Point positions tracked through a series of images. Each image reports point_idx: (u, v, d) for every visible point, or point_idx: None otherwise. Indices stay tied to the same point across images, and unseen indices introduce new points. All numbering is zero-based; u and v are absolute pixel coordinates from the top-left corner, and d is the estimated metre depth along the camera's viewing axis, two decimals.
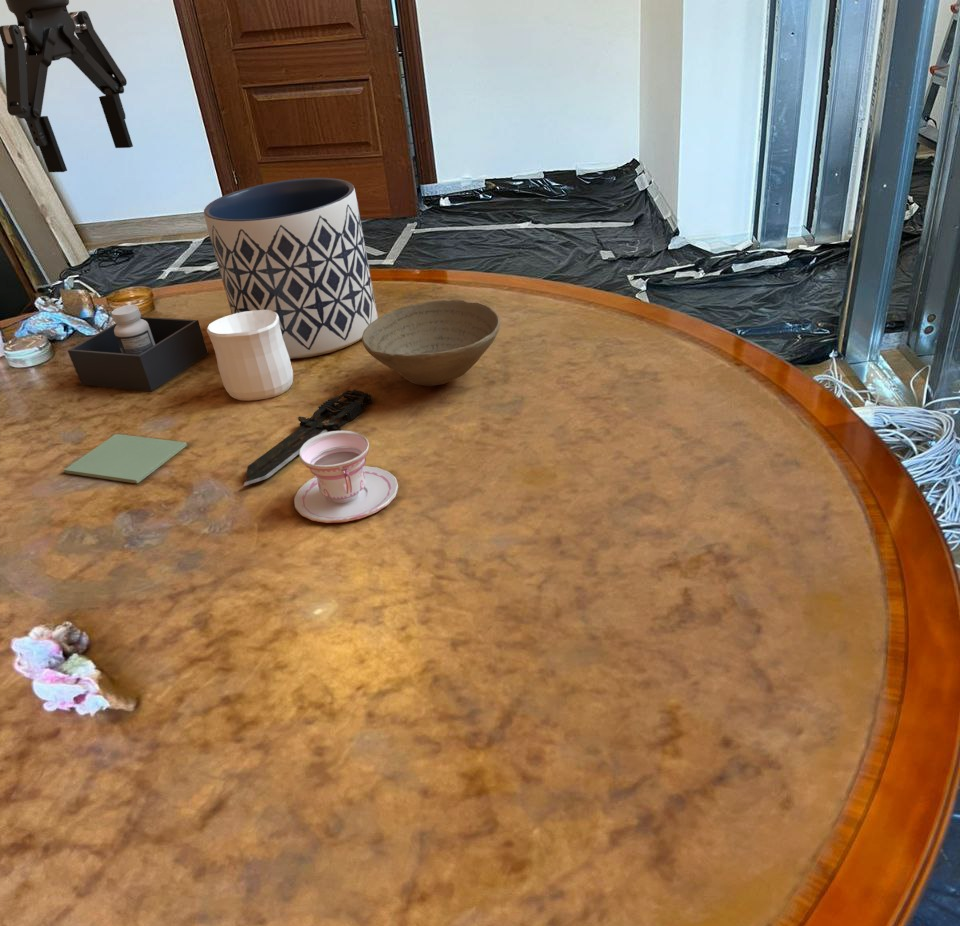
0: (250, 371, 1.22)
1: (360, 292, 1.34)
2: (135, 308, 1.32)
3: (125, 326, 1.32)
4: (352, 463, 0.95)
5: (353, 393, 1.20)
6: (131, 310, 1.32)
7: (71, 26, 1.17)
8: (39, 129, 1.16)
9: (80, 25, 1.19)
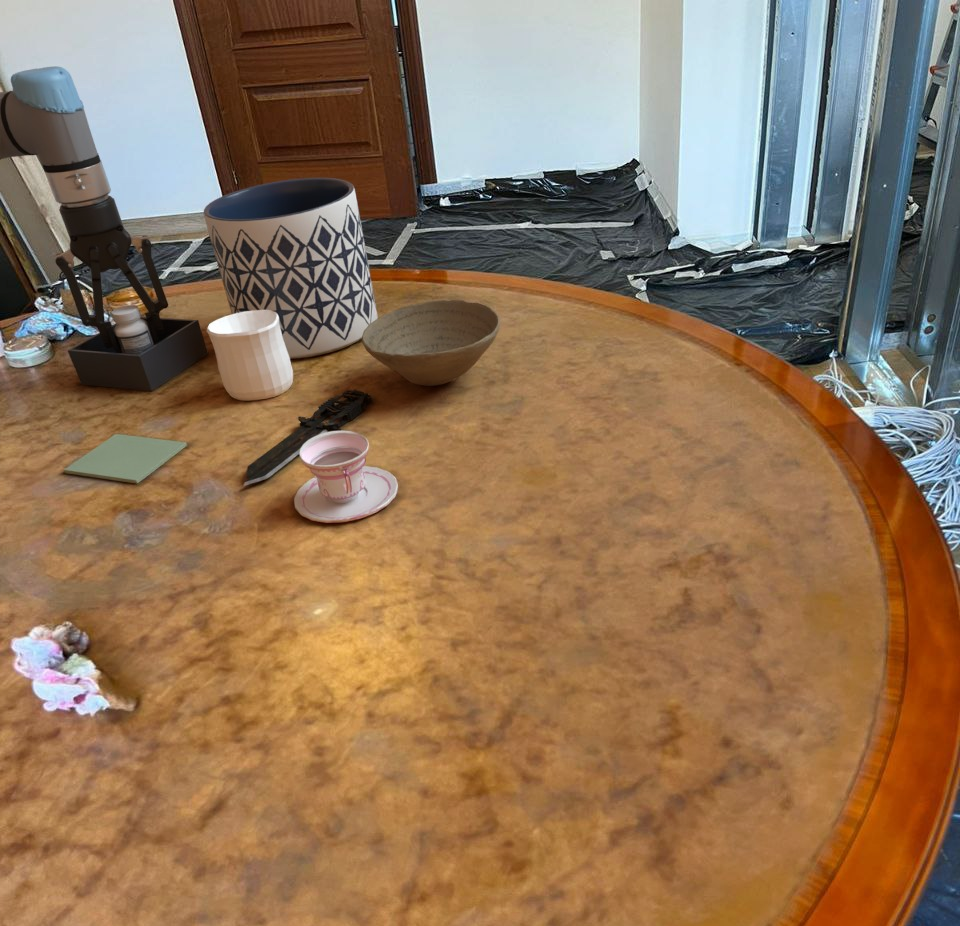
0: (250, 371, 1.22)
1: (360, 292, 1.34)
2: (135, 308, 1.32)
3: (125, 326, 1.32)
4: (352, 463, 0.95)
5: (353, 393, 1.20)
6: (131, 310, 1.32)
7: (124, 243, 1.27)
8: (103, 335, 1.33)
9: (139, 247, 1.28)
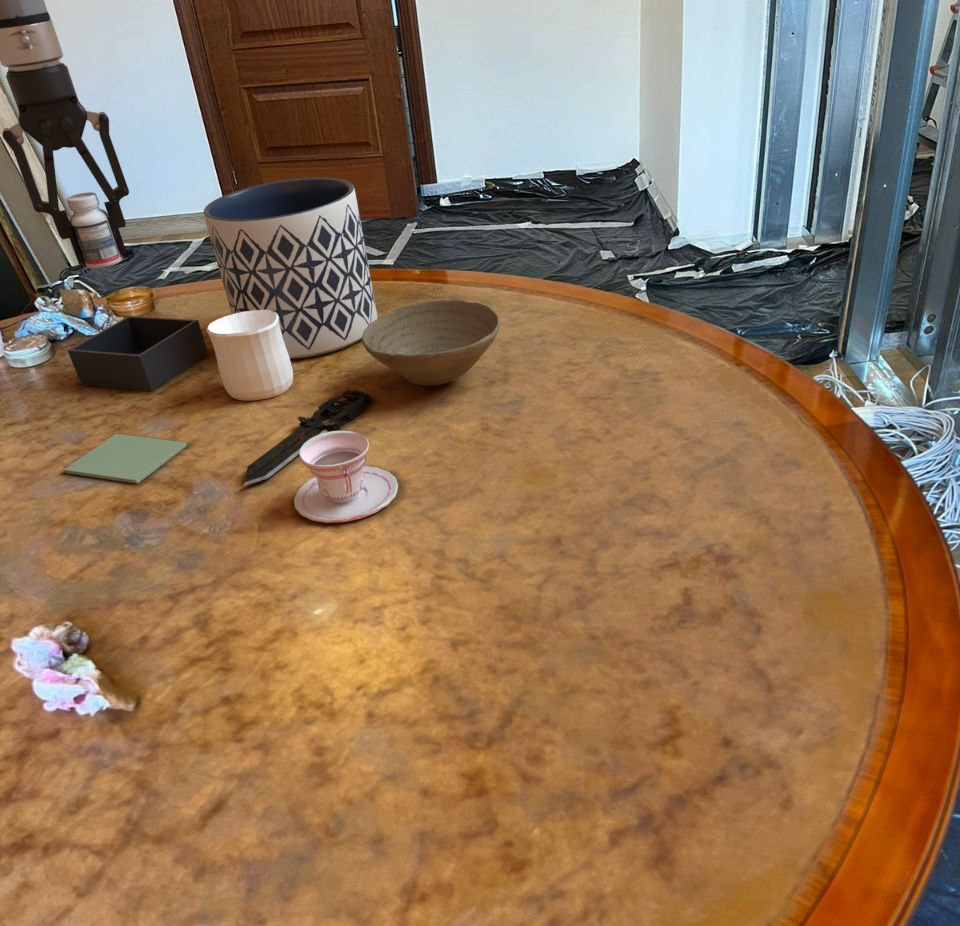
0: (250, 371, 1.22)
1: (360, 292, 1.34)
2: (93, 194, 1.21)
3: (81, 214, 1.21)
4: (352, 463, 0.95)
5: (353, 393, 1.20)
6: (88, 196, 1.21)
7: (79, 117, 1.15)
8: (58, 224, 1.21)
9: (95, 124, 1.17)
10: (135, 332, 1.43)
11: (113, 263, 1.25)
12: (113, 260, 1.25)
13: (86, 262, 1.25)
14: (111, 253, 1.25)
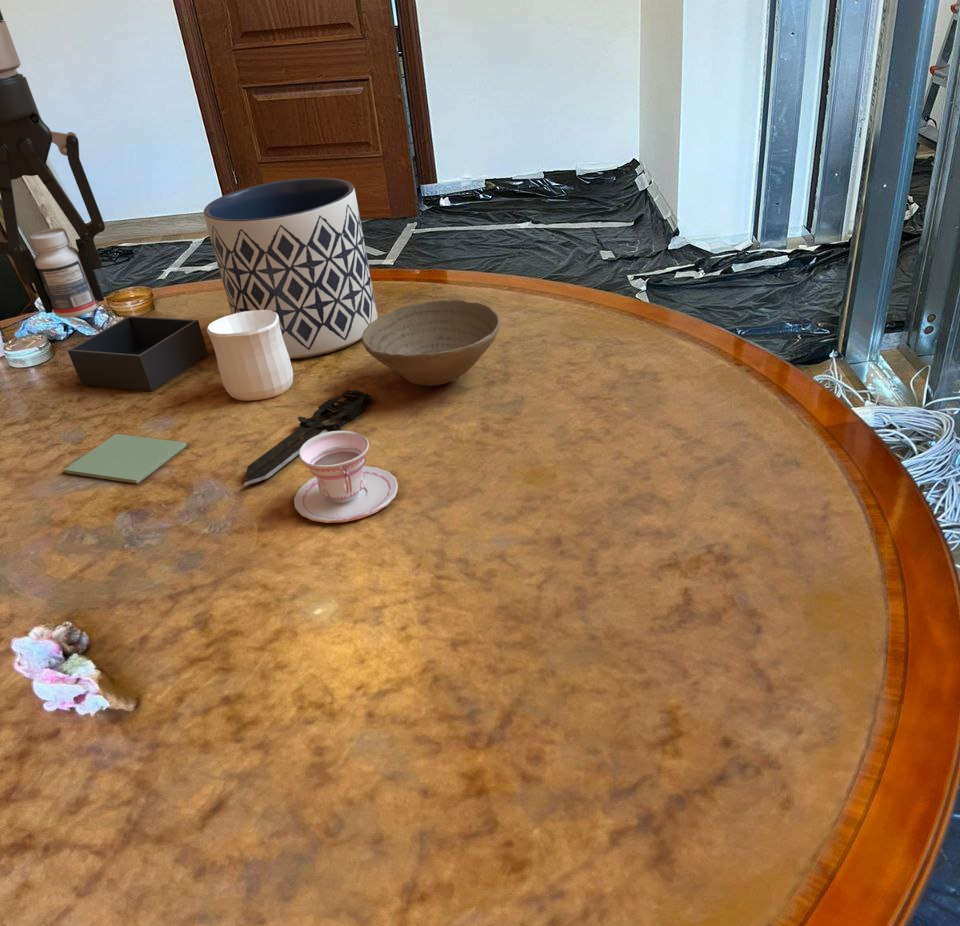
0: (250, 371, 1.22)
1: (360, 292, 1.34)
2: (61, 231, 1.01)
3: (47, 255, 1.01)
4: (352, 463, 0.95)
5: (353, 393, 1.20)
6: (55, 233, 1.00)
7: (42, 140, 0.95)
8: (20, 267, 1.01)
9: (62, 147, 0.96)
10: (135, 332, 1.43)
11: (87, 311, 1.05)
12: (87, 308, 1.05)
13: (55, 310, 1.05)
14: (85, 300, 1.04)
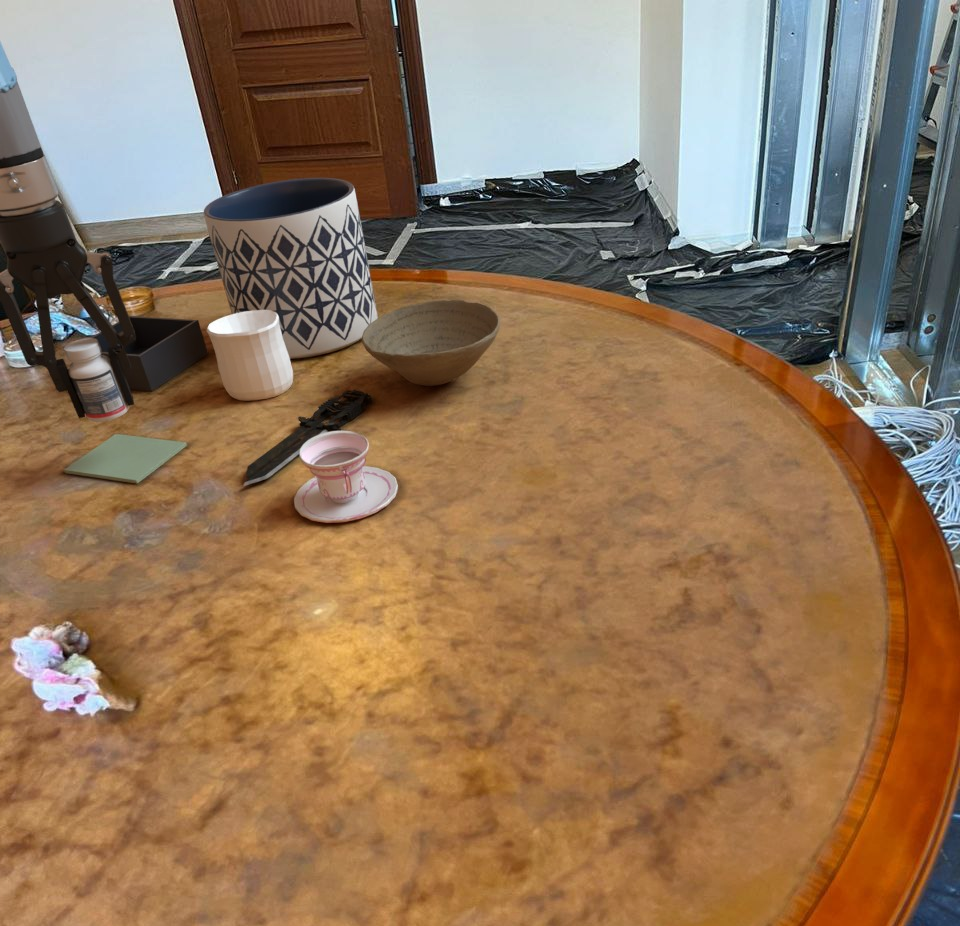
0: (250, 371, 1.22)
1: (360, 292, 1.34)
2: (94, 342, 1.05)
3: (81, 365, 1.05)
4: (352, 463, 0.95)
5: (353, 393, 1.20)
6: (89, 345, 1.04)
7: (78, 261, 0.99)
8: (54, 377, 1.05)
9: (97, 266, 1.00)
10: (135, 332, 1.43)
11: (118, 416, 1.09)
12: (118, 412, 1.09)
13: (87, 415, 1.08)
14: (116, 405, 1.08)
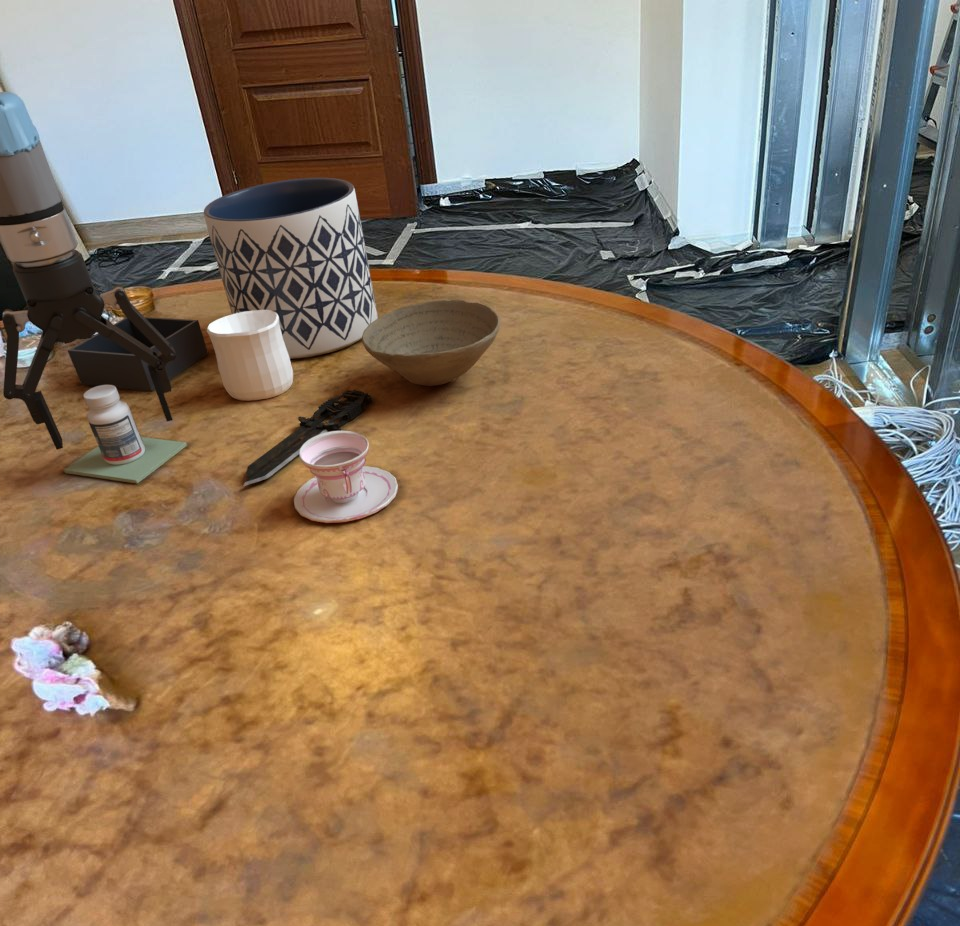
0: (250, 371, 1.22)
1: (360, 292, 1.34)
2: (112, 390, 1.08)
3: (100, 412, 1.08)
4: (352, 463, 0.95)
5: (353, 393, 1.20)
6: (107, 392, 1.08)
7: (95, 308, 1.02)
8: (32, 409, 1.06)
9: (115, 303, 1.03)
10: (135, 332, 1.43)
11: (135, 458, 1.13)
12: (135, 455, 1.12)
13: (105, 458, 1.12)
14: (133, 449, 1.12)
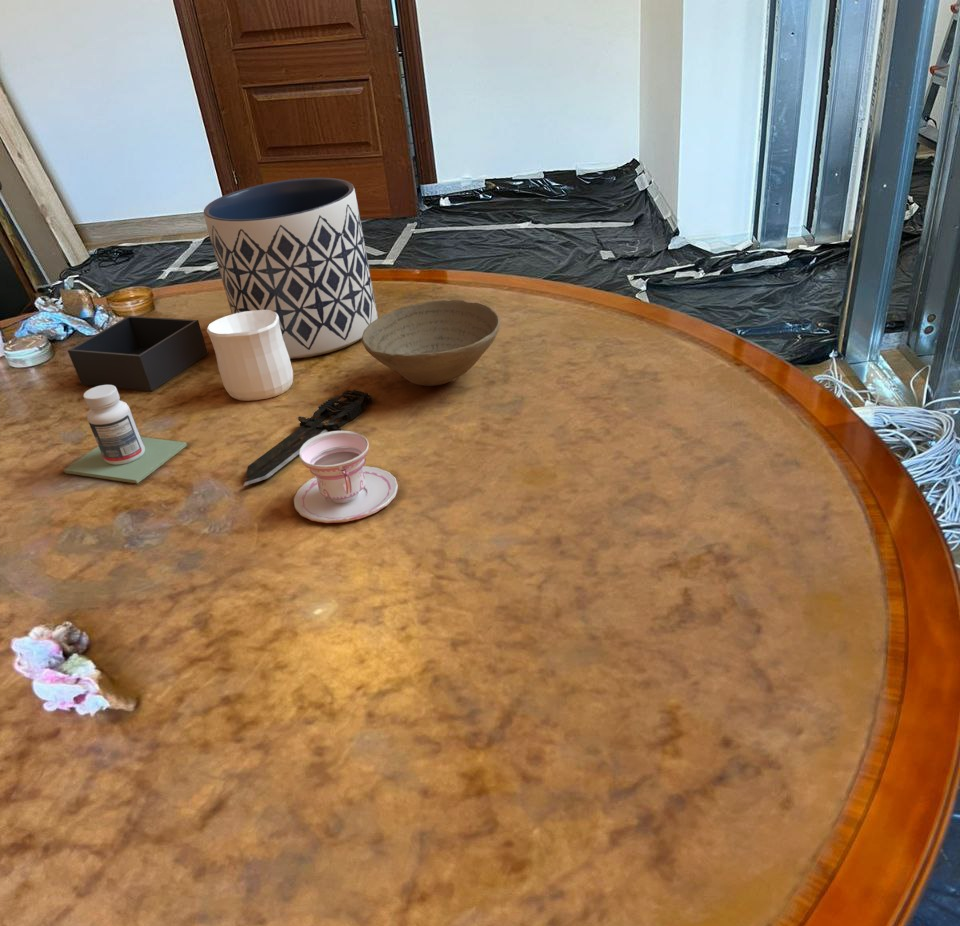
0: (250, 371, 1.22)
1: (360, 292, 1.34)
2: (112, 390, 1.08)
3: (100, 412, 1.08)
4: (352, 463, 0.95)
5: (353, 393, 1.20)
6: (107, 392, 1.08)
7: None
8: None
9: None
10: (135, 332, 1.43)
11: (135, 458, 1.13)
12: (135, 455, 1.12)
13: (105, 458, 1.12)
14: (133, 449, 1.12)
